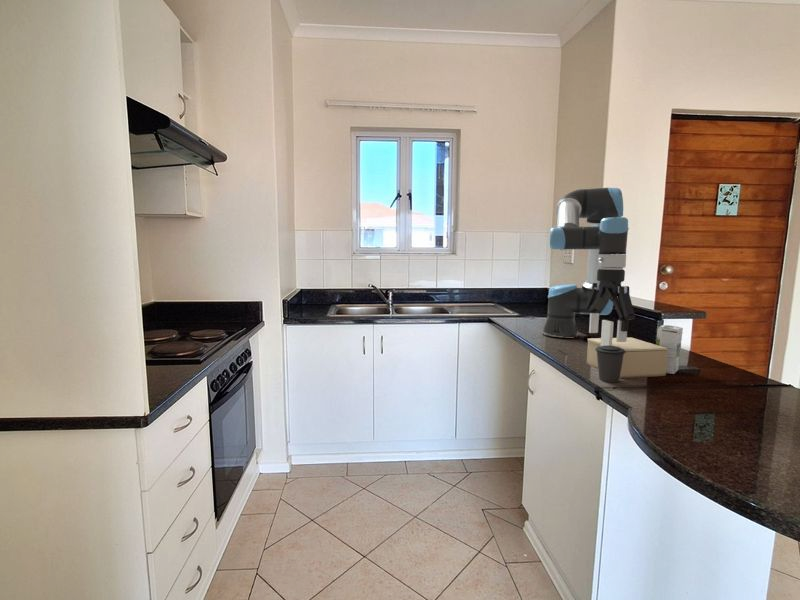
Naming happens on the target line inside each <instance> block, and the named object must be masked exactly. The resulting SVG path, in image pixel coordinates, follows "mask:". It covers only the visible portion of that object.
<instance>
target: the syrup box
mask: <svg viewBox="0 0 800 600" xmlns="http://www.w3.org/2000/svg"><path fill="white" fill-rule="evenodd" d="M683 330H684V328H683V327H681V326H676V325H671V324H670V325H669V324H668V325H667V324H662V325H660V326H658V327H657V332H656V341H655V342H656V344H655V345H658V346H662V347H665V348H667V350H668V354H667V366H666V374H670V375H671V374H673V375H675V374H676V373H678V371H679V367H680V357H681V348H682V347H681V346H682V340H683Z"/></svg>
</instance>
